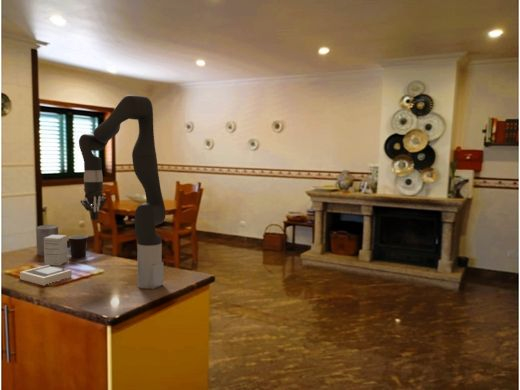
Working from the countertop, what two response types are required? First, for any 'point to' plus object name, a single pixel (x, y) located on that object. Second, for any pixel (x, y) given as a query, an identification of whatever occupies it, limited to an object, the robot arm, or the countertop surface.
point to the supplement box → (55, 249)
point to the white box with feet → (48, 271)
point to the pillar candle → (42, 233)
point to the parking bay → (31, 277)
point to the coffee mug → (78, 246)
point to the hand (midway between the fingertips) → (94, 220)
